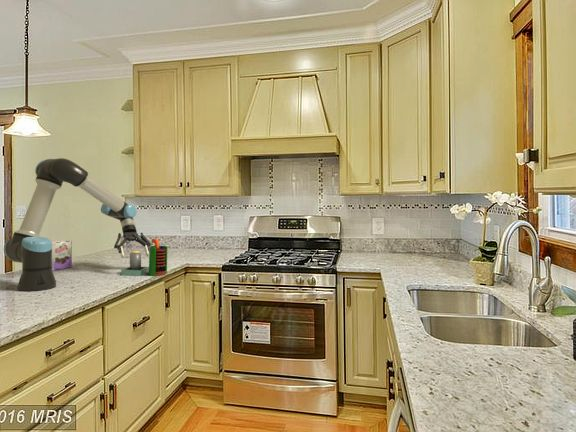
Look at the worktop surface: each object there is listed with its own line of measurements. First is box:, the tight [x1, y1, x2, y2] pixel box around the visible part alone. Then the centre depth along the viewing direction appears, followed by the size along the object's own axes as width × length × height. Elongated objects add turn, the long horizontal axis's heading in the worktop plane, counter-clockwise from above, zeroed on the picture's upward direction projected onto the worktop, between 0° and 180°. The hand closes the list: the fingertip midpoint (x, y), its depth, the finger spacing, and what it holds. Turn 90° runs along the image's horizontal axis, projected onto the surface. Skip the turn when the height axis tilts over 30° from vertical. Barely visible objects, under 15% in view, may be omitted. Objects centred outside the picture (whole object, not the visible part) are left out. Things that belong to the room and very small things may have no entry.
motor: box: [148, 238, 168, 277], centre depth 216 cm, size 10×9×20 cm
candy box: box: [51, 240, 73, 272], centre depth 226 cm, size 14×6×16 cm, turn 160°
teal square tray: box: [120, 266, 149, 277], centre depth 217 cm, size 11×12×3 cm
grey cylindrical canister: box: [129, 250, 142, 270], centre depth 216 cm, size 6×6×12 cm
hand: (135, 256), depth 218 cm, fingers open, 13 cm apart
